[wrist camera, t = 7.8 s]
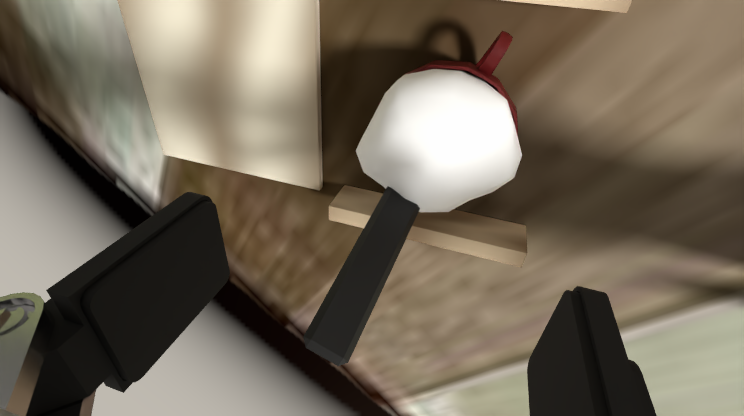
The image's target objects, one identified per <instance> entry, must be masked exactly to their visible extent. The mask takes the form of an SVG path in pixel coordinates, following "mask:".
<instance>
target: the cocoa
mask: <svg viewBox="0 0 744 416" xmlns="http://www.w3.org/2000/svg"><path fill="white" fill-rule="evenodd" d="M512 38H513V37H512V36H511V35H510V34H509V33H507V32H504V31H502V32H501V33H500V34H499V36H498V37H497V38H496V40H495V41H494V42H493V44H492V45H491V46H490V48H489V49H488V50H487V52H486V53H485V54H484V56H483V57H482V58H481V60H480V61H479V62H478V63H477V64H476V65H474V64H473V63H471V62H463V61H444V60H435V61H433V62H430V63H428V64H426V65H424V66H421V67H419V68H417V69H415V70H412V71H410V72H408V73H405V74H404V75H403V76H402V77H400V78H399V79H398V80H397V81H396V82H395V83H394V84H393V85H392V86H391V87H390V89H389V90H388V91H387V92H386V93H385V94H384V96H383V98H382V100H381V101H380V103H379V104H378V108H377V110H376V112H375V114H374V116H373V118H372V120H371V121H370V123H369V125H368V127H367V129H366V131H365V133H364V135H363V136H362V138H361V140H360V143H359V145H358V147H357V149H356V153H357V156H358V158H359V161H360V164H361V167H362V169H363V172H364V173H366V174H367V175H368V176H370V177H371V178H372V179H374V180H375V181H376V182H378V183H379V184H381V185H382V186H383V187H385V189H386V190H385V191H384V193H383V195H382V197H381V199H380V200H379V202H378V204H377V206H376V208H375V209H374V211H373V213H372V215H371V217H370V218H369V220H368V222H367V224H366V226H365V227H364V229H363V231H362V233H361V235H360V236H359V238H358V240H357V242H356V243H355V245H354V247H353V249H352V251H351V252H350V254H349V256H348V258H347V260H346V261H345V263H344V265H343V267H342V269H341V270H340V272H339V274H338V276H337V278H336V279H335V281H334V283H333V285H332V287H331V288H330V290H329V292H328V294H327V295H326V297H325V299H324V301H323V303H322V304H321V306H320V308H319V310H318V312H317V313H316V315H315V317H314V319H313V321H312V322H311V324H310V326H309V328H308V330H307V331H306V333H305V335H304V341H305V345H306V348H308V349H309V350H311V351H313V352H315V353H316V354H318V355H320V356H322V357H323V358H325V359H327V360H328V361H330V362H332V363H334V364H335V365H337V366H340V365H343V364H345V363H348V361H349V359H350V357H351V355H352V353H353V351H354V349H355V347H356V344H357V342H358V340H359V338H360V336H361V334H362V332H363V329H364V327H365V325H366V323H367V321H368V319H369V317H370V315H371V312H372V310H373V308H374V306H375V304H376V302H377V300H378V297H379V295H380V293H381V291H382V289H383V287H384V285H385V283H386V280H387V278H388V276H389V274H390V272H391V270H392V268H393V265H394V263H395V261H396V259H397V257H398V255H399V253H400V251H401V248H402V246H403V244H404V242H405V240H406V238H407V236H408V233H409V231H410V229H411V227H412V225H413V223H414V221H415V219H416V216H417V214H418V212H449V211H451V210H453V209H455V208H456V207H458V206H460V205H462V204H464V203H466V202H467V201H469V200H472V199H475V198H478V197H481V196H483V195H486V194H489V193H492V192H494V191H495V190H497V189H498V188H500V187H501V186H503V185H504V184H506V183H507V182H509V181H510V180H512V179H513V178H514V177H515V174H516V172H517V169H518V166H519V163H520V160H521V157H522V152H521V148H520V144H519V140H518V125H517V111H516V107H515V105H514V104H513V102H512V100H511V99H510V97H509V95H508V94H507V92H506V90H505V89H504V87H503V85H502V84H501V82H500V81H499V79H498V78H496V77H495V76H493V75H492V73H493V71H494V70H495V68H496V67H497V65H498V63H499V62H500V60H501V59H502V57H503V56H504V54H505V52H506V51H507V49H508V47H509V45H510V43H511V41H512Z"/></svg>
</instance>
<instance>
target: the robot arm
mask: <svg viewBox="0 0 744 416" xmlns="http://www.w3.org/2000/svg"><path fill="white" fill-rule="evenodd" d="M229 274H230V271H229V266H228V261H227V257H226V252H225V247H224V242H223V238H222V233H221V228H220V223H219V219H218V214H217V209H216V206H215V204H214V203H212V200H211V199H210V197H208V196H205V195H200V194H196V193H192V192H187V193H185V194H183V195H182V196H180V197H179V198H177V199H176V200H174V201H173V202H172V203H170V204H169V205H167V206H166V207H164V208H163V209H162V210H160V211H159V212H157V213H156V214H154V215H153V216H152V217H150V218H149V219H147V220H146V221H144V222H143V223H142V224H140V225H139V226H137V227H136V228H134V229H133V230H132V231H130V232H129V233H127V234H126V235H124V236H123V237H122V238H120V239H119V240H117V241H116V242H115V243H113V244H112V245H110V246H109V247H107V248H106V249H105V250H103V251H102V252H100V253H99V254H97V255H96V256H95V257H93V258H92V259H90V260H89V261H87V262H86V263H85V264H83V265H82V266H80V267H79V268H77V269H76V270H75V271H73V272H72V273H70V274H69V275H67V276H66V277H65V278H63V279H62V280H60V281H59V282H58V283H56V284H55V285H53V286H52V287H50V288H49V289H48V290H47V292H48V294H49V295H50V297H51V299H50V300H48V301H47V302H46V303H44V301H43V299H42V298H41V297H40V296H38V295H36V294H34V293H16V294H10V295H7V296H3V297H0V416H91V413H92V408H93V403H94V397H95V392H96V389H97V388H98V386H99V385H100V384H102V383H103V382H104V383H105V385H106V386H108V387H110V388H113V389H116V390H118V391H121V392H123V393H124V392H125V390H126V389H127V388H128V387H129V386H130V385H131V384H132V383H133V382H136V381H138V380H140V379H141V378H142V377H143V376H144V375H145V374H146V373H147V371H148V370H149V369H150V368H151V367H152V366H153V365H154V364H155V362H156V361H157V360H158V359H159V358H160V357H161V356H162V354H163V353H164V352H165V351H166V350H167V349H168V348H169V347H170V345H171V344H172V343H173V342H174V341H175V340H176V339H177V338H178V337H179V335H180V334H181V333H182V332H183V331H184V330H185V329H186V327H187V326H188V325H189V324H190V323H191V322H192V321H193V320H194V318H195V317H196V316H197V315H198V314H199V313H200V312H201V311H202V309H203V308H204V307H205V306H206V305H207V304H208V303H209V302H210V300H211V299H212V298H213V297H214V296H215V295H216V294H217V293H218V291H219V290H220V289H221V288H222V287H223V286H224V285H225V283H226V282H227V280H228V278H229ZM527 374H528V391H529V408H530V416H656V413H655V410H654V407H653V404H652V401H651V398H650V395H649V392H648V389H647V386H646V384H645V381H644V378H643V375H642V372H641V370H640V368H639V366H638V365H637V364H636V363H635V362H634V361H631V360H628V357H627V354H626V351H625V348H624V345H623V342H622V339H621V335H620V332H619V329H618V326H617V323H616V320H615V317H614V314H613V310H612V307H611V304H610V301H609V298H608V296H607V294H606V293H604V292H600V291H596V290H592V289H588V288H583V287H579V286H577V287H576V288H575V289H574V290H573V291H569V290H566V291H565V292H564V294H563V295H562V297H561V299H560V301H559V303H558V305H557V307H556V309H555V311H554V313H553V314H552V316H551V318H550V320H549V322H548V324H547V326H546V328H545V330H544V332H543V334H542V336H541V337H540V339H539V341H538V343H537V345H536V347H535V349H534V351H533V353H532V355H531V357H530V359H529V362H528V369H527Z"/></svg>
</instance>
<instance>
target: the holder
mask: <svg viewBox="0 0 744 416" xmlns="http://www.w3.org/2000/svg"><path fill="white" fill-rule="evenodd" d="M503 1H513V2H523V3H533V4H543V5H554V6H564V7H574V8H584V9H594V10H604V11H614V12H624V13H627V11H628V9H629V6H630V4H631V1H632V0H503ZM382 195H383V193H378V192H374V191H370V190H365V189H361V188H356V187H352V186H347V185H344V186H343V188H342V189H341V190H340V192H339V193H338V194H337V196H336V197H335V198H334V200H333V201H332V202H331V204H330V205H329V220H332V221H336V222H340V223H344V224H348V225H352V226H356V227H360V228H364V227H365V226H366V224H367V222H368V220H369V218H370V217H371V215H372V213H373V211H374V209H375V208H376V206H377V204H378V202H379V200H380V199H381V197H382ZM406 239H409V240H413V241H417V242H421V243H425V244H429V245H433V246H437V247H441V248H445V249H449V250H453V251H457V252H461V253H465V254H469V255H473V256H477V257H481V258H485V259H489V260H493V261H497V262H501V263H505V264H509V265H513V266H517V267H522V265H523V263H524V260H525V258H526V255H527V239H526V225H521V224H517V223H512V222H508V221H503V220H499V219H494V218H490V217H486V216H481V215H477V214H472V213H468V212H463V211H459V210H454V209H453V210H451V211H449V212H418V214H417V216H416V219H415V221H414V223H413V225H412V227H411V229H410V231H409V233H408V236H407V238H406Z"/></svg>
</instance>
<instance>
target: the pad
mask: <svg viewBox="0 0 744 416" xmlns="http://www.w3.org/2000/svg"><path fill="white" fill-rule="evenodd" d="M118 4H119V7H120V10H121V14H122V17H123V20H124V24H125V27H126V30H127V34H128V37H129V40H130V44H131V47H132V50H133V54H134V57H135V61H136V64H137V67H138V71H139V74H140V77H141V81H142V84H143V87H144V91H145V94H146V97H147V101H148V104H149V107H150V111H151V114H152V117H153V121H154V124H155V127H156V131H157V134H158V138H159V141H160V144H161V148H162V151H163V154H164V155H168V156H173V157H177V158H181V159H186V160H190V161H194V162H199V163H203V164H207V165H212V166H216V167H220V168H225V169H229V170H233V171H238V172H242V173H246V174H251V175H255V176H259V177H264V178H268V179H272V180H277V181H281V182H285V183H290V184H294V185H298V186H302V187H307V188H311V189H315V190H320V189H321V188H322V187H323V173H322V122H321V71H320V20H319V0H118Z"/></svg>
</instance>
